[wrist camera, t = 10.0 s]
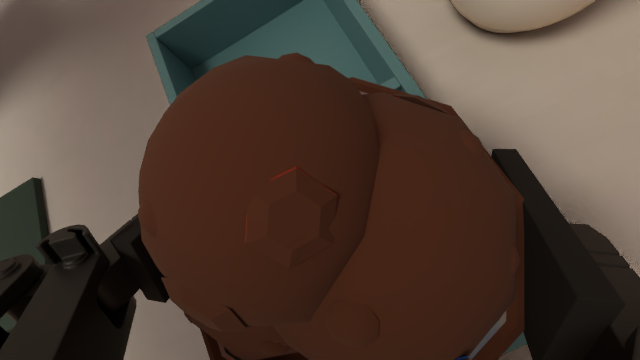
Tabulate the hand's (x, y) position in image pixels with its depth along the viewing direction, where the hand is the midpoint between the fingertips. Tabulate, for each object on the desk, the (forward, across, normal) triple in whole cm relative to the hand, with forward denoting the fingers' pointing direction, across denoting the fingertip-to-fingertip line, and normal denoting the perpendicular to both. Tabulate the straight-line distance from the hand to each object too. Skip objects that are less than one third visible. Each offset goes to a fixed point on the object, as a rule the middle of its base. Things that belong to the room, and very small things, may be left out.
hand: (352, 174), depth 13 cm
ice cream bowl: (+2, 0, -6) cm, 7 cm away
